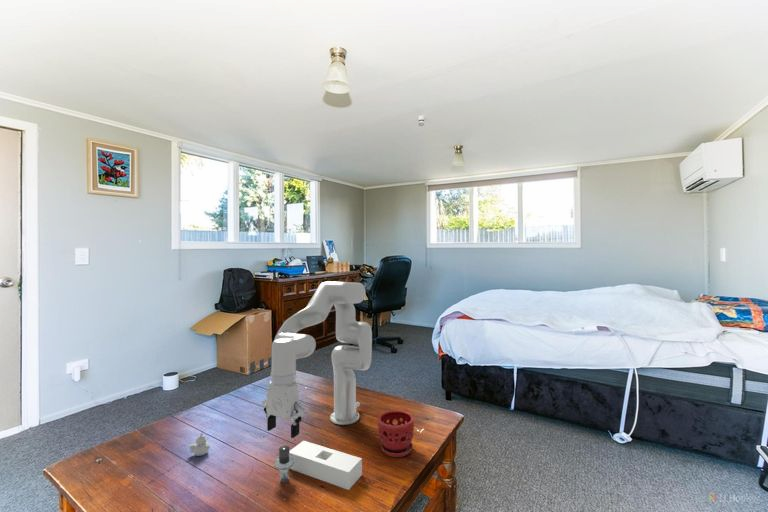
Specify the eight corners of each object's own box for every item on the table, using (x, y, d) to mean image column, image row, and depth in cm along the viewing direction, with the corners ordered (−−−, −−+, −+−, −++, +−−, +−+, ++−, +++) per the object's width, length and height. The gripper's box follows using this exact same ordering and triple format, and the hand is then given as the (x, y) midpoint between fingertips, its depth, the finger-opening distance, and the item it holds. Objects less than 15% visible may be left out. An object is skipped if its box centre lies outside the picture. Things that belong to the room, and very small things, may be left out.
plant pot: (417, 443, 130) (417, 412, 130) (408, 463, 118) (408, 428, 118) (384, 437, 135) (384, 407, 135) (372, 456, 122) (372, 422, 122)
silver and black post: (283, 471, 114) (283, 441, 114) (297, 476, 111) (297, 446, 111) (270, 482, 108) (270, 450, 108) (284, 488, 106) (284, 455, 106)
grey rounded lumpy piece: (207, 457, 122) (207, 435, 122) (186, 460, 120) (186, 437, 120) (211, 449, 127) (211, 427, 127) (191, 451, 125) (191, 429, 125)
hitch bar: (303, 455, 123) (303, 440, 123) (361, 474, 112) (361, 458, 112) (287, 468, 116) (287, 452, 116) (348, 490, 105) (348, 472, 105)
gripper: (254, 377, 110) (254, 431, 110) (297, 386, 102) (296, 444, 102) (272, 370, 117) (271, 421, 116) (313, 379, 109) (312, 433, 109)
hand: (283, 432), depth 109 cm, fingers open, 9 cm apart
